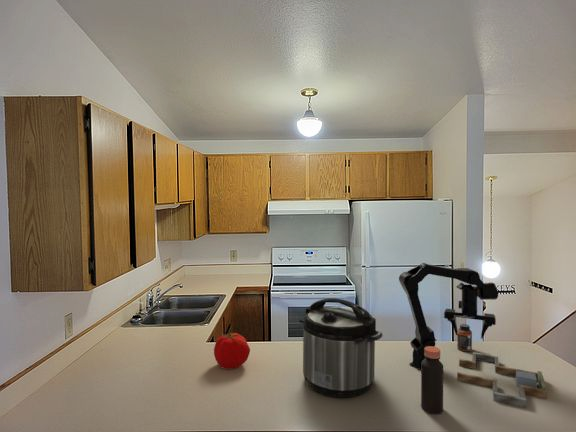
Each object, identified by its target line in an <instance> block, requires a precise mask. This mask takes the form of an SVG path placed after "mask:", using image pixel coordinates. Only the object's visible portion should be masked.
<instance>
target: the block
mask: <svg viewBox="0 0 576 432" xmlns="http://www.w3.org/2000/svg"><path fill="white" fill-rule="evenodd" d="M537 383H538V381H537V379H536V376H535V374H532V373H527V372H522V371H516V376H515V384H516V387H518V388H519V385H524V386H529V387H534V388H538V387H537V385H538V384H537Z"/></svg>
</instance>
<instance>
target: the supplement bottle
mask: <svg viewBox="0 0 576 432" xmlns="http://www.w3.org/2000/svg"><path fill="white" fill-rule="evenodd" d="M470 328H471V327H470V325H469V324H465V323H460V324H459V328H457V335H456V337H457V344H456V346H457V349H458V350H459V351H462V352H472V349H473V346H472V345H473V344H472V343H473V333H472V332H473V331H472V330H471V329H470Z"/></svg>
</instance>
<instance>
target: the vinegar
mask: <svg viewBox="0 0 576 432" xmlns="http://www.w3.org/2000/svg"><path fill="white" fill-rule="evenodd" d="M424 355H425V359H424V360H423V361H422V362H421V369H420V371H421V372H420V373H421V374H420V379H421V381H420V385H421V386H420V387H421V388H420V389H421V391H420V395H421V396H420V406H421V409H422V410H423V411H424V412H427V413H429V414H432V415H438V414H441V413H442V412H443V411H444V364H443V362H441V361H440V359H441V349H440V348H439V347H437V346H434V347H433V346H427V347H425V348H424Z"/></svg>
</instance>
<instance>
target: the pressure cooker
mask: <svg viewBox="0 0 576 432" xmlns="http://www.w3.org/2000/svg"><path fill="white" fill-rule="evenodd" d="M326 303H332V304H333V303H337V304H340V305H343V306H338V305H337V306H336V305H331V306H330V305H329V306H325V305H326ZM376 321H377V319H376V318H375V317H374V316H372V315H371V314H370V312H369V311H368V310H366V309H365V308H364V307H361V306H360V305H359V304H357V303H354V302H352V301H349V300H345V299H342V298H341V299H340V298H337V297H335V298H331V297H330V298H322V299H319V300H317V301H315V302H312V304H310V306H308V307H307V308H305V315H304V316H303V317H301V318H299V323H300V324H303V327H302V330H303V333H302V335H303V338H302V347H303V348H302V352H303V353H302V374H303V378H304V380H305V381H306V382H308V384H309V386H310V387H311V388H312V389H313V390H314V391H315V392H318V393H319V394H321V395H325V396H329V397H337V398H351V397H352V398H353V397H356V396H359V395H362V394H364V393H366V392H367V391H368V390H370V389H371V388H372V385H373V384H374V383H373V382H374V379H375V360H376V359H375V349H376V346H375V345H376V341H379V340H380V339H381V338H383V333H382V332H381V331H378V330H377V322H376Z"/></svg>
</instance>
